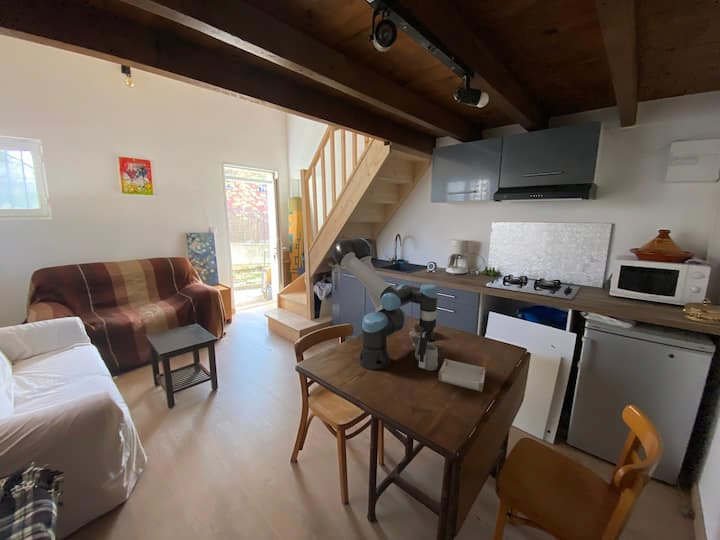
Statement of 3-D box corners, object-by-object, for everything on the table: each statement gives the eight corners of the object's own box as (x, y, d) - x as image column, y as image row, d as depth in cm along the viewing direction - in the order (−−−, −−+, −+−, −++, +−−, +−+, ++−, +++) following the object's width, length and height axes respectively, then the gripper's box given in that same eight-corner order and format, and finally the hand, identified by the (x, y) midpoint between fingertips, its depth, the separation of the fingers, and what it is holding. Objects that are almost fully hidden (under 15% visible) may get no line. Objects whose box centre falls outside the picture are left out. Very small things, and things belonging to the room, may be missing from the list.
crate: (438, 380, 126) (438, 372, 125) (444, 365, 138) (445, 358, 137) (482, 391, 118) (482, 383, 118) (484, 375, 130) (485, 367, 129)
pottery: (405, 346, 157) (406, 325, 155) (417, 329, 179) (418, 311, 177) (426, 351, 153) (427, 329, 150) (436, 333, 175) (437, 314, 172)
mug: (433, 372, 132) (434, 348, 130) (410, 363, 140) (411, 340, 137) (440, 366, 138) (442, 342, 135) (418, 357, 145) (419, 335, 143)
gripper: (429, 329, 121) (426, 375, 126) (441, 311, 143) (439, 351, 148) (411, 326, 125) (410, 371, 129) (426, 308, 147) (424, 348, 151)
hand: (425, 360), depth 138 cm, fingers open, 13 cm apart
